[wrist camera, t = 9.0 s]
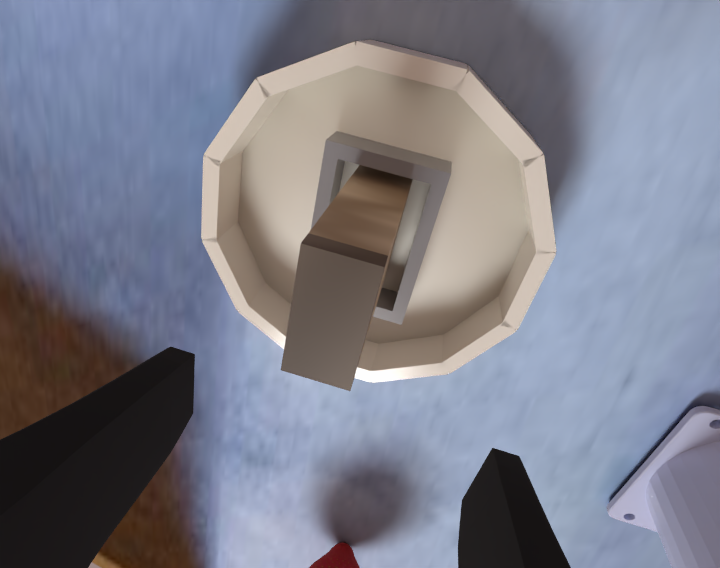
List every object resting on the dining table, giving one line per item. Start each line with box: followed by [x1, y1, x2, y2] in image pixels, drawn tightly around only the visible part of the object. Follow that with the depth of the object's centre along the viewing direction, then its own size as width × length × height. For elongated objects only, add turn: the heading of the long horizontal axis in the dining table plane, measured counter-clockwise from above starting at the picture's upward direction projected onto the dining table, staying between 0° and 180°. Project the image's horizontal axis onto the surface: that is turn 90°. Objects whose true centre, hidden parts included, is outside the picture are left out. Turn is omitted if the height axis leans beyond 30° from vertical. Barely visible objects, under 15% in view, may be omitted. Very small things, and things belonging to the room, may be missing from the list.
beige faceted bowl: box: [201, 40, 556, 383], centre depth 17 cm, size 12×12×2 cm
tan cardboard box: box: [281, 165, 413, 391], centre depth 14 cm, size 2×4×7 cm, turn 168°
